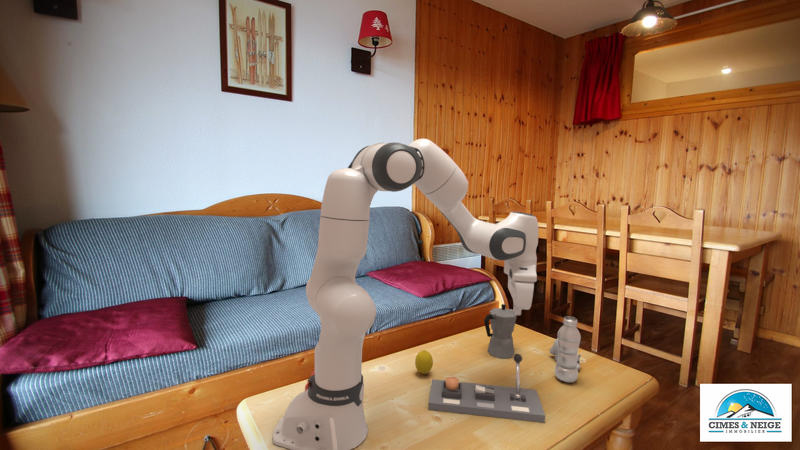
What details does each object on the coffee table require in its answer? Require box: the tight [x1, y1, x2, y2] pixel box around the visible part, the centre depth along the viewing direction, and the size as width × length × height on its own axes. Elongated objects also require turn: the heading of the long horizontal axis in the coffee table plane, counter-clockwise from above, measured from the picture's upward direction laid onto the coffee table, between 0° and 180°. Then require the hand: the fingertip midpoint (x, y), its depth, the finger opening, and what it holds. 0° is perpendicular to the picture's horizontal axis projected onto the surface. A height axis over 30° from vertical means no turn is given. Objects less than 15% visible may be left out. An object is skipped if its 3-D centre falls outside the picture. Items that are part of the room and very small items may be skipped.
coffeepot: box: [483, 303, 518, 360], centre depth 135 cm, size 15×9×18 cm, turn 122°
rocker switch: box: [475, 385, 494, 394], centre depth 106 cm, size 5×2×1 cm, turn 82°
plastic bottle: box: [554, 315, 582, 384], centre depth 118 cm, size 6×7×20 cm
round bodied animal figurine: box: [549, 337, 582, 371], centre depth 129 cm, size 7×12×8 cm, turn 13°
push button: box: [445, 376, 460, 390], centre depth 107 cm, size 4×4×2 cm
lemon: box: [414, 349, 434, 375], centre depth 121 cm, size 6×6×8 cm
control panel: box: [428, 378, 546, 424], centre depth 107 cm, size 30×12×4 cm, turn 81°
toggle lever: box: [512, 353, 523, 399], centre depth 107 cm, size 2×2×12 cm
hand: (517, 313), depth 113 cm, fingers closed
